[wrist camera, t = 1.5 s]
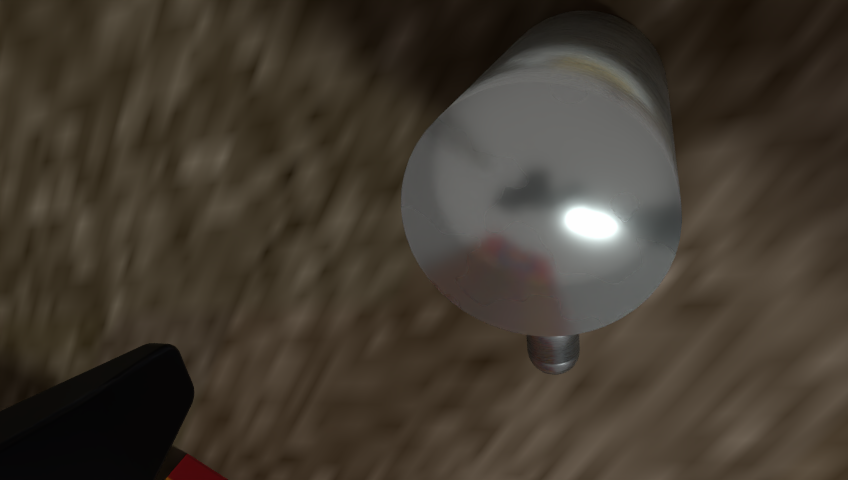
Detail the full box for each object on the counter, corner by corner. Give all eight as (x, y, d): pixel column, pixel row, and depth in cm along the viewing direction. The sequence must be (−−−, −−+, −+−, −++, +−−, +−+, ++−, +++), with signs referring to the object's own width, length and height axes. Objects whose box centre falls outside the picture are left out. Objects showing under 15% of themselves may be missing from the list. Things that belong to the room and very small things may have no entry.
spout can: (670, 0, 17) (687, 69, 10) (663, 232, 20) (674, 425, 13) (487, 21, 19) (380, 93, 11) (507, 231, 22) (433, 400, 14)
